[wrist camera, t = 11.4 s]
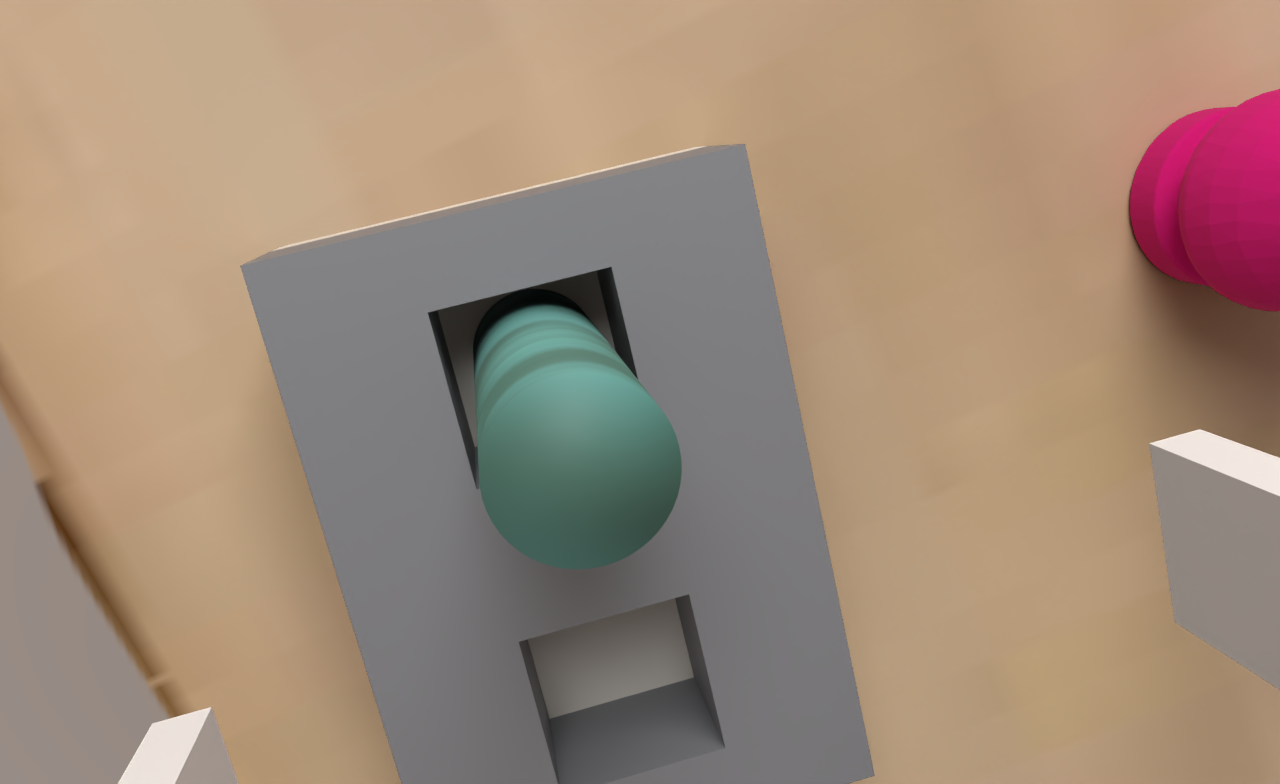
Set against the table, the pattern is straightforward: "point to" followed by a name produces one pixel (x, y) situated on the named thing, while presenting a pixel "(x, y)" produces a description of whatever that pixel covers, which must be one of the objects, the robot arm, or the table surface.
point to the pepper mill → (1215, 201)
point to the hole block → (550, 596)
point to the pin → (567, 436)
